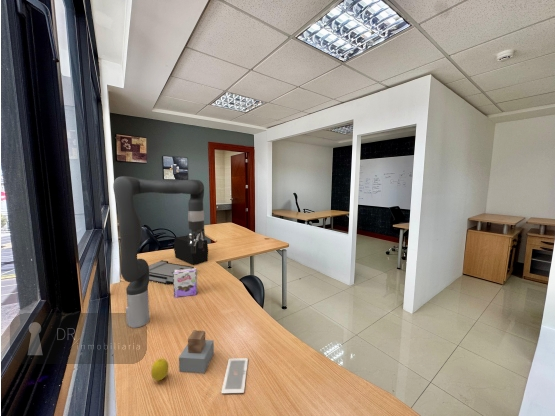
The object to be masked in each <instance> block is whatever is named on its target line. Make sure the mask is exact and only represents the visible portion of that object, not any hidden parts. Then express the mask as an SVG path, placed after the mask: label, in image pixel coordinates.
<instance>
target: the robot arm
mask: <svg viewBox="0 0 555 416" xmlns="http://www.w3.org/2000/svg"><path fill="white" fill-rule="evenodd" d="M112 189H113V194H114V198H115V203H116V207H117V208H116V209H117V218H118V228H119V229H118V231H119V238H120V249H121V251H120V252H121V257H120V273H121V277H122V279H123V281H125V282H126V283H129V284H128V285H127V286H126V289H125V290H126V292H125V293H126V303H127V304H126V305H127V306H126V307H125V316H126V317H125V318H126V326H128V327H129V328H133V329H135V328H140V327H143V326H145V325H147V324H148V323H149V322H150V319H151V318H150V302H149V287H148V286H149V283H150V281H149V263H148V262H147V260H145V259H144V258H138V251H139V247H140V244H141V241H142V238H143V228H142V227H143V225H142V221H141V217H140V216H139V214H138V212H137V209H136V208H135V202H134V196H135V195H139V194H146V193H148V194H149V193H155V194H170V195H174V194H175V195H179V194H180V195H181V194H183V195H185V194H186V195H190V198H189V199H188V203H187V205H188V206H187V207H188V209H187V210H188V213H187V217H188V218H187V220H188V224H187V225H188V226H187V227H188V230H190V231H191V232H190V233H188V234H187V235H188V246H191V253H193V254H195V253H196V242H197V241H198V248H203V240H206V234H205V233H206V232H205V211H204V195H205V185H204V183H203V181H202V180H200V179H174V178H173V179H167V178H166V179H164V178H163V179H144V178H138V177H133V176H125V175H123V176H122V175H121V176H118V177H116V178H115V180H114V181H113V185H112ZM190 241H191V242H190Z"/></svg>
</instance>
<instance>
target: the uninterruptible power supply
mask: <svg viewBox="0 0 555 416" xmlns="http://www.w3.org/2000/svg"><path fill="white" fill-rule="evenodd" d="M190 242H191V241H190ZM173 250H174V256H175V258H176V259H177V260H179V261H180V260H181V261H182V262H185V263H186V264H189V265H190V266H192V267H195V266H197V265H200V264H203V263H207V262H208V258H209V247H208V240H207V239H204V240H203V248H198V241H197V242H196V253H195V254H193V253H191V246H188V234H187V235H182V236H176V237H174V243H173Z"/></svg>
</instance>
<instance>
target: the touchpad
mask: <svg viewBox="0 0 555 416" xmlns="http://www.w3.org/2000/svg"><path fill="white" fill-rule="evenodd" d="M248 360H249V359H248V357H247V358H241V357H240V358H228V363H227V366H226V370H225V375H224V378H223V383H222V387H221V392H220V394H242V393H243V394H244V392H245V385H246V377H247V371H248V370H247V368H248V362H249V361H248Z"/></svg>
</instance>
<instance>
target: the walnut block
mask: <svg viewBox="0 0 555 416" xmlns="http://www.w3.org/2000/svg"><path fill="white" fill-rule="evenodd" d="M205 340H206V331H205V330H198V329H196V330H194V329H193V330H192V331H191V333H190V335H189V336H188V337H187V344H188V353H200V354H201V352H202V350H203V348H204V346H205V344H206V342H205Z"/></svg>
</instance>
